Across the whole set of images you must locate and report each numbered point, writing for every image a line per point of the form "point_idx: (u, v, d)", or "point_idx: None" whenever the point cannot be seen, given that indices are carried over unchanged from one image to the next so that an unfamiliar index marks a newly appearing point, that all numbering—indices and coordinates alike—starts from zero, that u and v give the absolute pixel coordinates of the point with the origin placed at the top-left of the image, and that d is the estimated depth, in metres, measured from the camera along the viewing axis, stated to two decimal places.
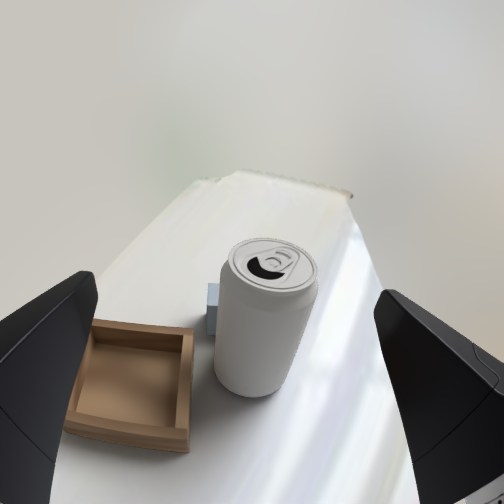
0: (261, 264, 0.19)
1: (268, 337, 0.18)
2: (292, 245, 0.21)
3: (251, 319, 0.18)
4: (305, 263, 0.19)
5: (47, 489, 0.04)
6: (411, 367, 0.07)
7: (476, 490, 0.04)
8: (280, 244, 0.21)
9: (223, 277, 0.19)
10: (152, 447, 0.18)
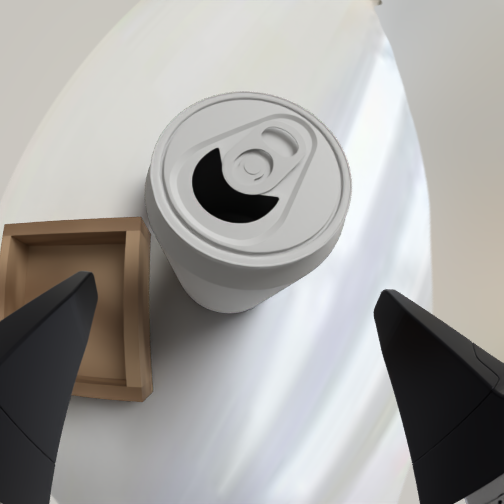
0: (226, 173, 0.08)
1: (243, 299, 0.10)
2: (301, 111, 0.09)
3: (207, 286, 0.09)
4: (327, 166, 0.08)
5: (47, 489, 0.04)
6: (411, 367, 0.07)
7: (476, 490, 0.04)
8: (275, 105, 0.09)
9: (147, 198, 0.08)
10: None
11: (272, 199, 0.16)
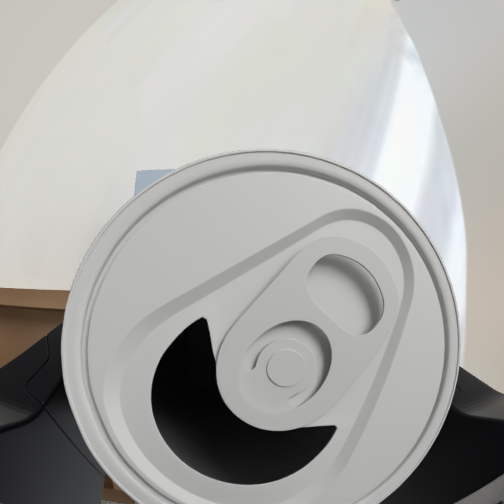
0: (227, 386, 0.03)
1: None
2: (384, 199, 0.04)
3: None
4: (428, 335, 0.04)
5: None
6: None
7: None
8: (331, 185, 0.04)
9: None
10: None
11: None
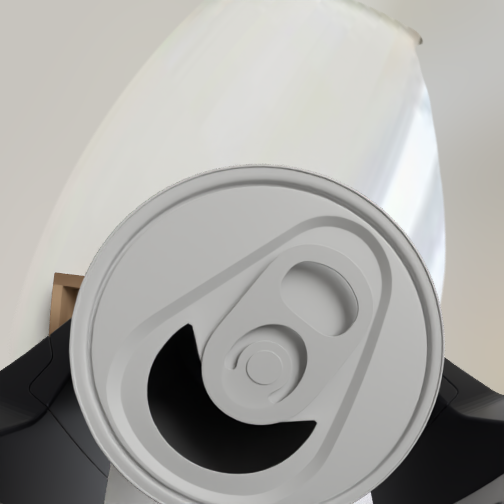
0: (212, 384, 0.04)
1: None
2: (359, 203, 0.04)
3: None
4: (408, 334, 0.04)
5: None
6: None
7: None
8: (307, 194, 0.04)
9: None
10: None
11: None
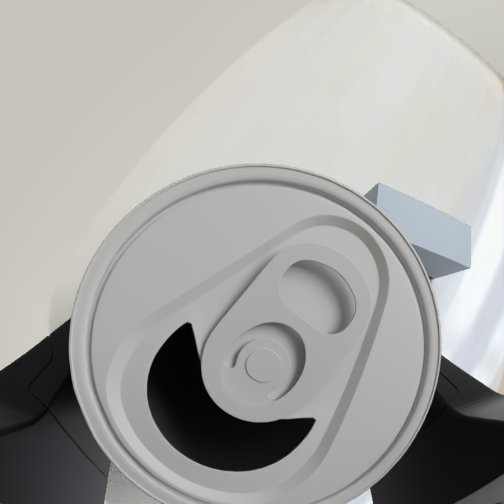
0: (212, 383, 0.04)
1: None
2: (357, 202, 0.04)
3: None
4: (405, 331, 0.04)
5: None
6: None
7: None
8: (304, 193, 0.05)
9: None
10: None
11: None
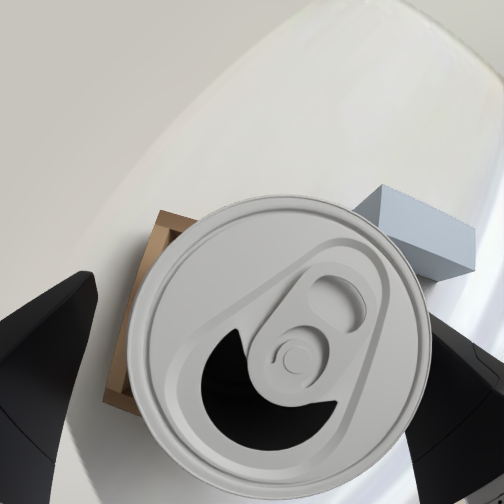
0: (256, 376, 0.05)
1: None
2: (364, 226, 0.06)
3: None
4: (403, 329, 0.05)
5: (47, 489, 0.04)
6: None
7: (476, 490, 0.04)
8: (322, 219, 0.06)
9: None
10: None
11: None
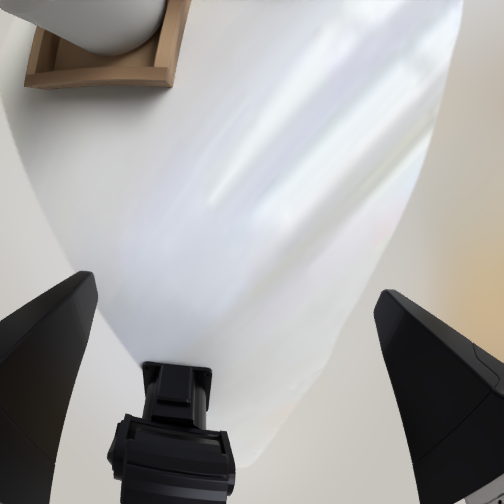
0: None
1: (77, 17, 0.08)
2: None
3: (38, 17, 0.07)
4: None
5: (47, 490, 0.04)
6: (411, 367, 0.07)
7: (476, 490, 0.04)
8: None
9: None
10: (133, 84, 0.17)
11: None
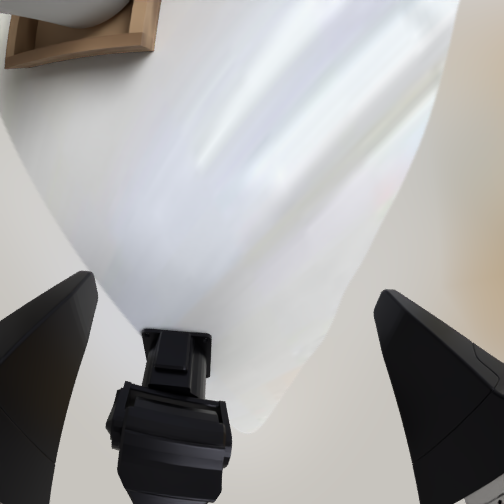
0: None
1: None
2: None
3: None
4: None
5: (47, 489, 0.04)
6: (411, 367, 0.07)
7: (476, 490, 0.04)
8: None
9: None
10: (113, 52, 0.15)
11: None
